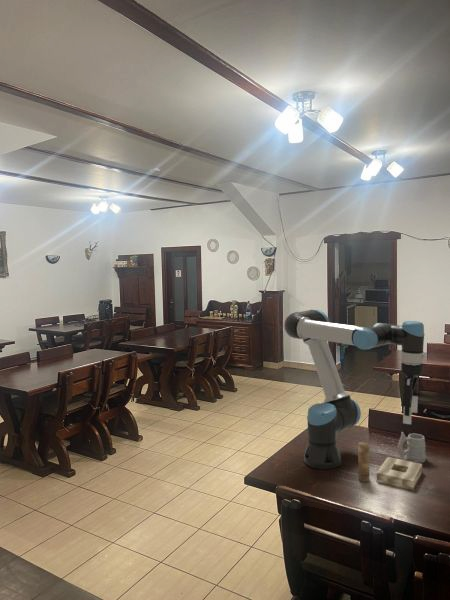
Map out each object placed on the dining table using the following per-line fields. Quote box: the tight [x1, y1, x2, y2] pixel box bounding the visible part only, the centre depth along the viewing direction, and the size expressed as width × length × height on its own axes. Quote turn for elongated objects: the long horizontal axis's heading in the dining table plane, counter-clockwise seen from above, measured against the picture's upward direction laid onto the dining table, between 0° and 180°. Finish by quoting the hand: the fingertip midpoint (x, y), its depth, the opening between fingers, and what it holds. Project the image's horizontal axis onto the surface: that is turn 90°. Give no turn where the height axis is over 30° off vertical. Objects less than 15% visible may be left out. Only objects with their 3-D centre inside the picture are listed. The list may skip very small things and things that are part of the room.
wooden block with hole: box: [376, 456, 423, 491], centre depth 174 cm, size 13×16×4 cm
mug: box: [396, 431, 427, 464], centre depth 188 cm, size 8×12×12 cm, turn 95°
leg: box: [357, 441, 370, 483], centre depth 172 cm, size 4×4×14 cm
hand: (410, 417), depth 172 cm, fingers open, 13 cm apart
